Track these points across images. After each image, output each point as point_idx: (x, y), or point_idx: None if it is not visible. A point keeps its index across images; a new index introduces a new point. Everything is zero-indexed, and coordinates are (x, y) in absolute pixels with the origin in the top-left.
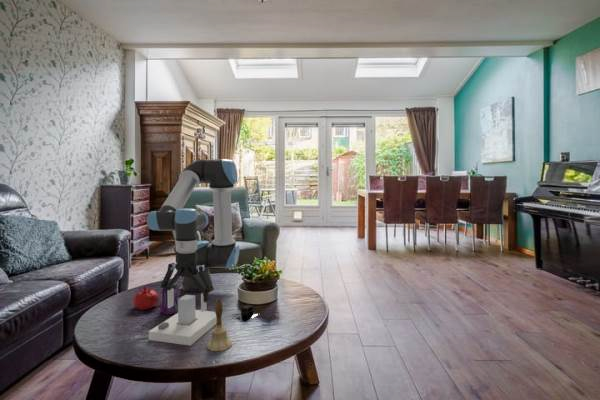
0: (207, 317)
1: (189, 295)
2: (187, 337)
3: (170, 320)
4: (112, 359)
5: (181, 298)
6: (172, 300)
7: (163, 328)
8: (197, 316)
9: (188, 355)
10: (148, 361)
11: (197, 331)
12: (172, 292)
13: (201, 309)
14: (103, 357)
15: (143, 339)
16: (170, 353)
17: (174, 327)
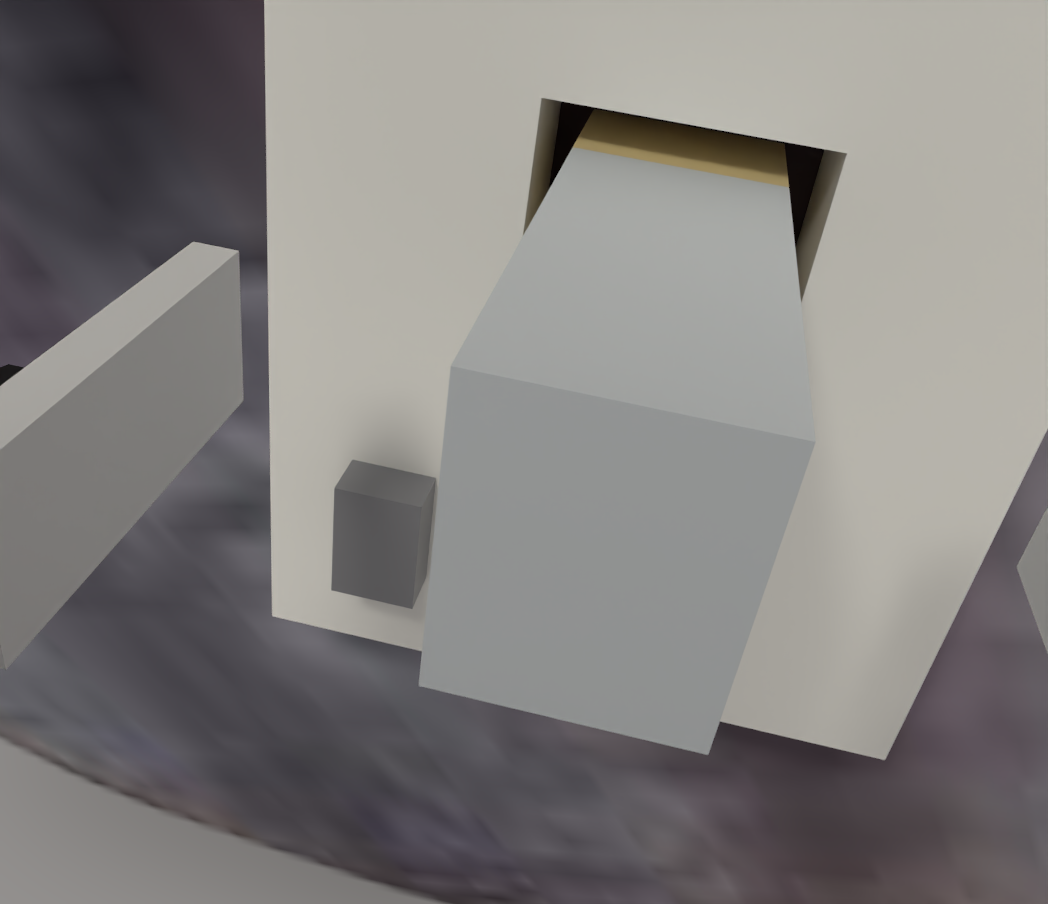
0: (1044, 67)
1: (608, 432)
2: (839, 739)
3: (345, 275)
4: (251, 830)
5: (487, 657)
6: (173, 356)
7: (421, 584)
8: (791, 36)
9: (904, 832)
10: (561, 877)
11: (948, 628)
12: (46, 465)
13: (1040, 601)
14: (159, 802)
15: (248, 535)
16: (700, 790)
17: None
